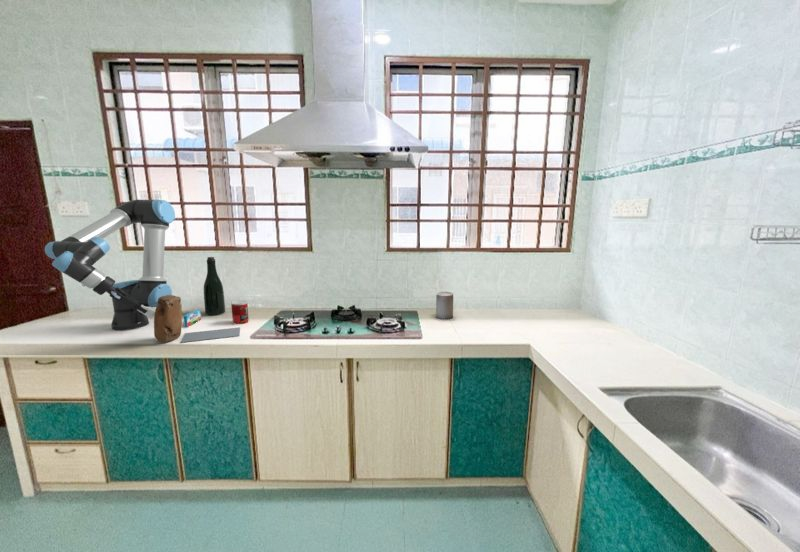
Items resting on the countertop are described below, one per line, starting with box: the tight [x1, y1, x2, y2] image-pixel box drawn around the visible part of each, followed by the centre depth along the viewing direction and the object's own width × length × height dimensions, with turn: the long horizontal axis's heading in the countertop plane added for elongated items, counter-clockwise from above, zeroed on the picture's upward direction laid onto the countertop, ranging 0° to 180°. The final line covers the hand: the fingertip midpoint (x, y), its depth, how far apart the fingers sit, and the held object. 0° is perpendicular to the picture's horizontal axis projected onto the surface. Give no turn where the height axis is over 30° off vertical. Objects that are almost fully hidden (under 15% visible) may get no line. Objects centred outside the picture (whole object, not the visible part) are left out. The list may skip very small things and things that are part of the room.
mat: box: [179, 326, 241, 344], centre depth 165 cm, size 13×24×1 cm, turn 113°
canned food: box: [231, 300, 250, 325], centre depth 184 cm, size 8×8×11 cm
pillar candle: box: [435, 291, 454, 320], centre depth 197 cm, size 10×10×15 cm
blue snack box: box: [183, 309, 202, 328], centre depth 181 cm, size 12×2×6 cm, turn 0°
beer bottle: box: [203, 256, 226, 317], centre depth 198 cm, size 10×10×33 cm
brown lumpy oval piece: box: [153, 294, 183, 344], centre depth 156 cm, size 11×8×20 cm
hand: (153, 315), depth 153 cm, fingers closed
